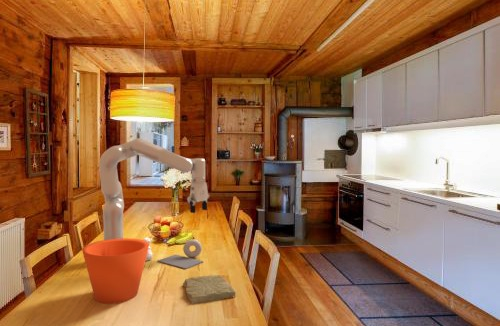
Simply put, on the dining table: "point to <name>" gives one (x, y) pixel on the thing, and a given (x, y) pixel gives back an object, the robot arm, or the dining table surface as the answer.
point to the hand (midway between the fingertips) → (198, 211)
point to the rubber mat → (180, 261)
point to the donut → (192, 243)
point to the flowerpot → (115, 268)
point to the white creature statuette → (149, 253)
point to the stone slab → (207, 288)
